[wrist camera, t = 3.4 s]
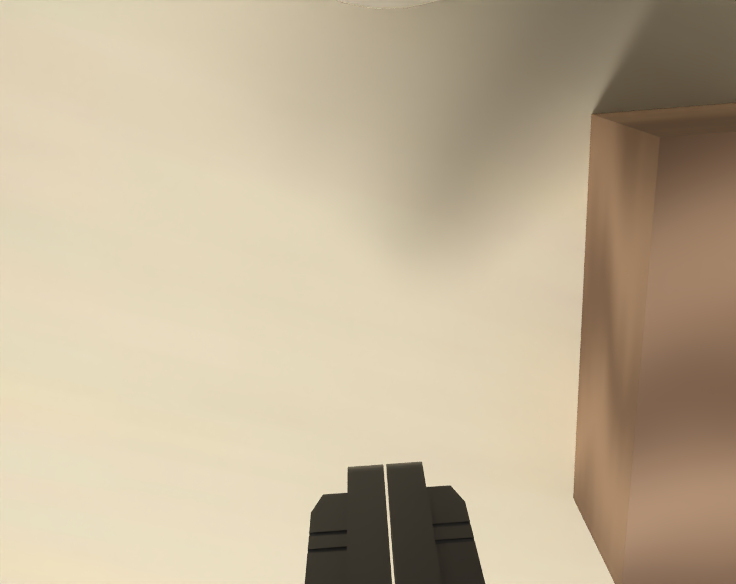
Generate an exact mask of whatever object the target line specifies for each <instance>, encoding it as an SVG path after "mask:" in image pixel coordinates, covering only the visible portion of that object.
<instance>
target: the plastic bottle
mask: <svg viewBox="0 0 736 584" xmlns="http://www.w3.org/2000/svg"><path fill="white" fill-rule="evenodd" d="M337 1H340V2H342V3H347V4H352V5H358V6H363V7H368V8H374V9H386V8H410V7H414V6H418V5H423V4H427V3H431V2H436V1H439V0H337Z"/></svg>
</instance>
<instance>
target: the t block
mask: <svg viewBox="0 0 736 584" xmlns="http://www.w3.org/2000/svg"><path fill="white" fill-rule="evenodd" d="M573 498H574V500H575V502H576V504H577V506H578V509H579V511H580V513H581V515H582V517H583V519H584V521H585V523H586V525H587V527H588V529H589V531H590V533H591V535H592V537H593V539H594V541H595V544H596V546H597V548H598V550H599V552H600V554H601V556H602V558H603V560H604V562H605V564H606V566H607V568H608V570H609V572H610V574H611V576H612V579H613V581H614V583H615V584H736V103H727V104H714V105H702V106H689V107H676V108H664V109H651V110H639V111H626V112H614V113H601V114H592V115H591V136H590V158H589V179H588V200H587V221H586V242H585V263H584V284H583V305H582V327H581V348H580V369H579V390H578V411H577V432H576V453H575V474H574V495H573Z"/></svg>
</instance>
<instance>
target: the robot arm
mask: <svg viewBox="0 0 736 584" xmlns="http://www.w3.org/2000/svg"><path fill="white" fill-rule="evenodd" d="M386 466H387V481H388V496H389V510H390V525H391V539H392V552H393V565H394V578H395V584H485V581H484V577H483V573H482V569H481V565H480V561H479V557H478V553H477V549H476V545H475V541H474V536H473V532H472V528H471V525H470V520H469V516H468V512H467V508H466V504H465V501H464V500H463V499H462V498H461V497H460V496H459V495H458V493H457V492H456V491H455V490H454V489H453V488H452V487H451V486H436V487H426V483H425V477H424V471H423V466H422V462H411V463H397V464H386ZM309 535H310V536H309V542H308V554H307V565H306V577H305V584H392V577H391V564H390V550H389V537H388V523H387V510H386V496H385V482H384V469H383V465H371V466H356V467H348V493H339V494H325V495H323V496H322V497H321V499H320V500H319V502H318V503H317V505H316V506H315V508H314V509H313V511H312V512H311V520H310V531H309Z"/></svg>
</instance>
